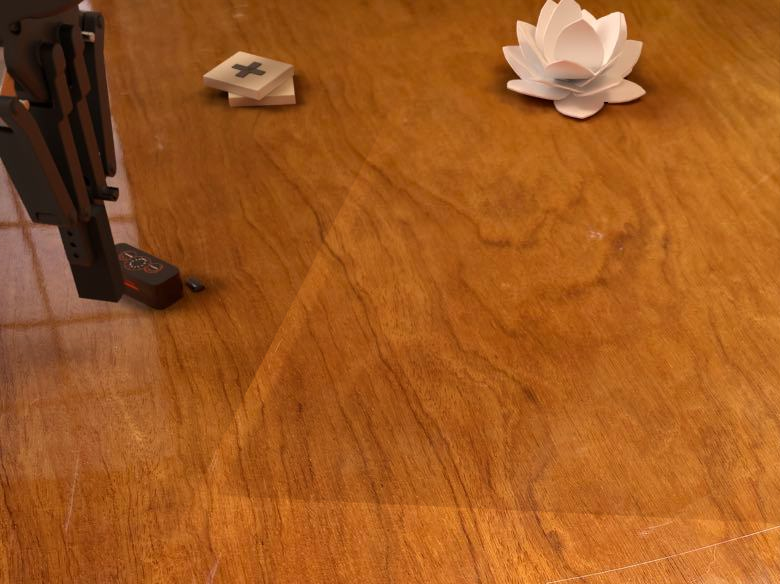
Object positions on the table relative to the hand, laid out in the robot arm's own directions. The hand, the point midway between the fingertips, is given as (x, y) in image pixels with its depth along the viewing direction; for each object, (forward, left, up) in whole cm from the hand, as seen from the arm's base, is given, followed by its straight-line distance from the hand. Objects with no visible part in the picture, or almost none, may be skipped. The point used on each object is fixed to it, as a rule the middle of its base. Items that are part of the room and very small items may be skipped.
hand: (102, 293), depth 79 cm
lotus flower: (+26, +51, -6) cm, 58 cm away
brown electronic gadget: (0, +8, -6) cm, 10 cm away
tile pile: (-3, +40, -6) cm, 40 cm away
